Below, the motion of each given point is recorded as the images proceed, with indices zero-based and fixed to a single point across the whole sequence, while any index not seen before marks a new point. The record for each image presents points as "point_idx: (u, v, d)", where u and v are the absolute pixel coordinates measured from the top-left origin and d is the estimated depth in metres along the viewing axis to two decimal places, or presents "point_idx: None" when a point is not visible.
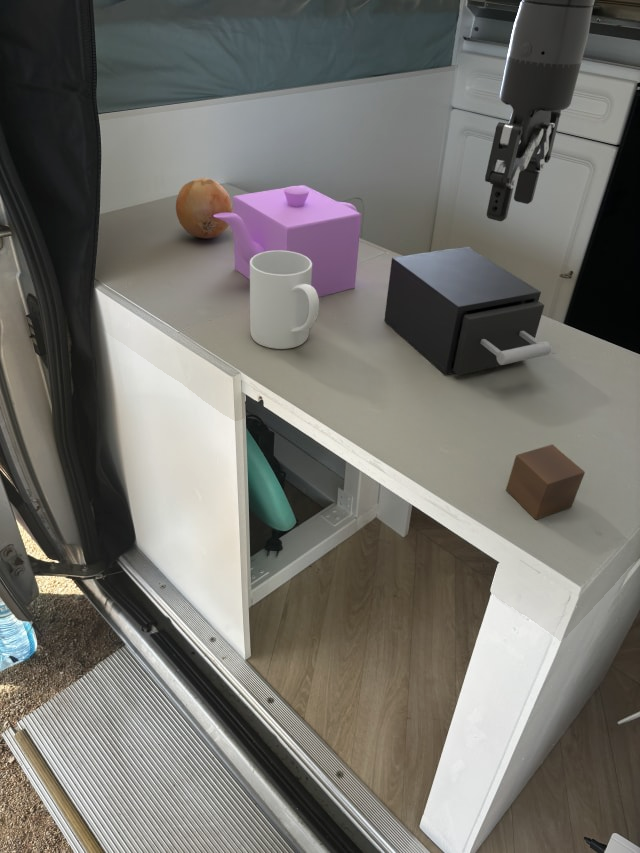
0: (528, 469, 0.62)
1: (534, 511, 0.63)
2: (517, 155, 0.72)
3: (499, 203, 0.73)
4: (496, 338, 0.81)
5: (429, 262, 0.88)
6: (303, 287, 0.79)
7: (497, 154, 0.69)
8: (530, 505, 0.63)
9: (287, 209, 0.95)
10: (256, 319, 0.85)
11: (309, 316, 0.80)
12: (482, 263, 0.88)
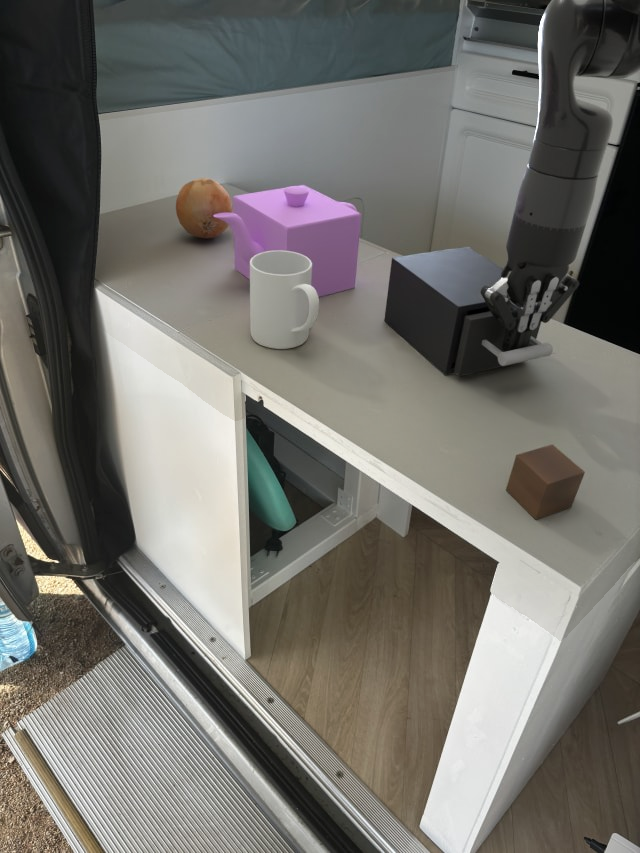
0: (528, 469, 0.62)
1: (534, 511, 0.63)
2: (513, 299, 0.74)
3: (509, 342, 0.78)
4: (497, 339, 0.80)
5: (429, 262, 0.88)
6: (303, 287, 0.79)
7: (492, 309, 0.74)
8: (530, 505, 0.63)
9: (287, 209, 0.95)
10: (256, 319, 0.85)
11: (309, 316, 0.80)
12: (482, 263, 0.88)
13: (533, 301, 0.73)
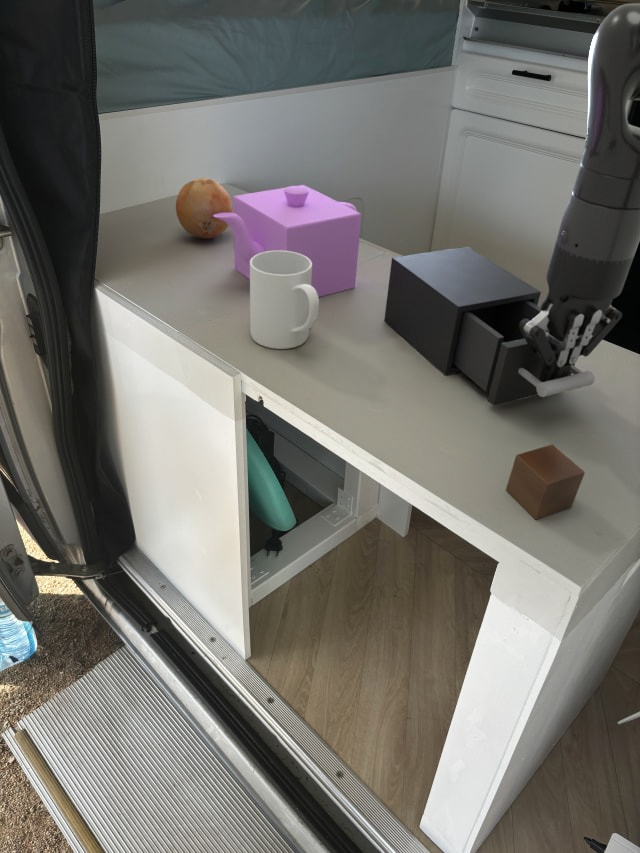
0: (528, 469, 0.62)
1: (534, 511, 0.63)
2: (553, 333, 0.70)
3: (547, 377, 0.73)
4: (535, 367, 0.76)
5: (429, 262, 0.88)
6: (303, 287, 0.79)
7: (530, 343, 0.70)
8: (530, 505, 0.63)
9: (287, 209, 0.95)
10: (256, 319, 0.85)
11: (309, 316, 0.80)
12: (482, 263, 0.88)
13: (575, 335, 0.69)
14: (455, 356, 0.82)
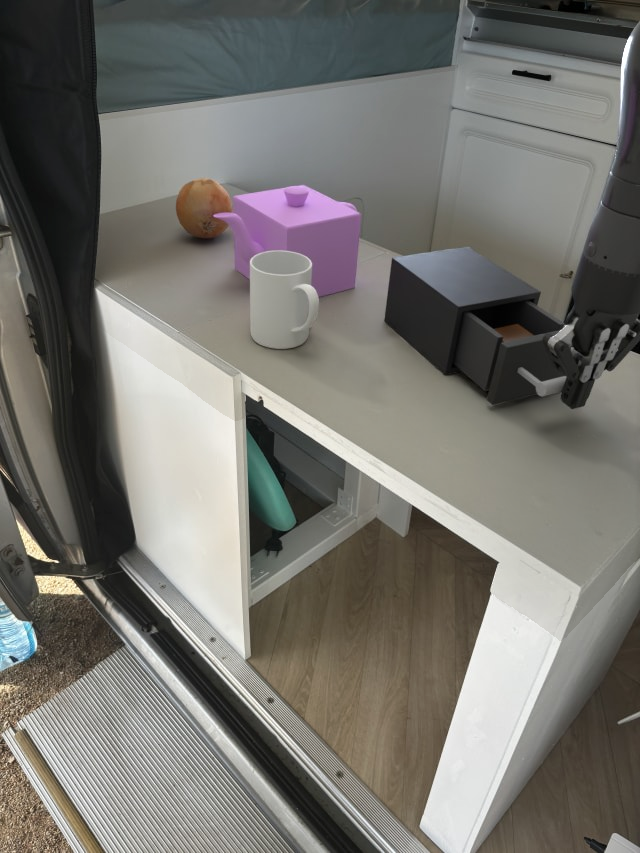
0: None
1: None
2: (577, 347, 0.67)
3: (570, 393, 0.70)
4: (534, 366, 0.76)
5: (429, 262, 0.88)
6: (303, 287, 0.79)
7: (553, 358, 0.67)
8: None
9: (287, 209, 0.95)
10: (256, 319, 0.85)
11: (309, 316, 0.80)
12: (482, 263, 0.88)
13: (600, 350, 0.66)
14: (454, 356, 0.82)
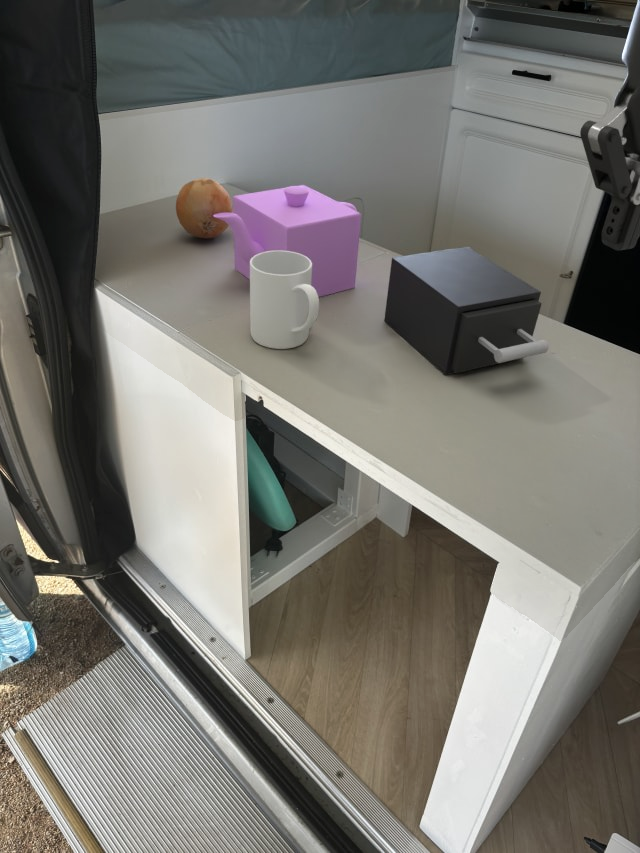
0: None
1: None
2: (630, 146, 0.47)
3: (616, 224, 0.51)
4: (494, 336, 0.81)
5: (429, 262, 0.88)
6: (303, 287, 0.79)
7: (595, 164, 0.47)
8: None
9: (287, 209, 0.95)
10: (256, 319, 0.85)
11: (309, 316, 0.80)
12: (482, 263, 0.88)
13: None
14: None
